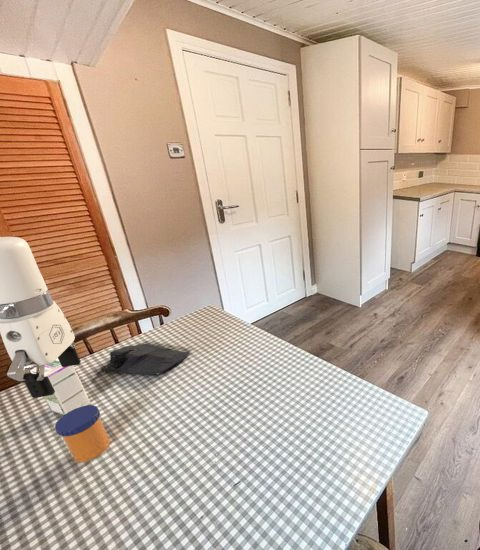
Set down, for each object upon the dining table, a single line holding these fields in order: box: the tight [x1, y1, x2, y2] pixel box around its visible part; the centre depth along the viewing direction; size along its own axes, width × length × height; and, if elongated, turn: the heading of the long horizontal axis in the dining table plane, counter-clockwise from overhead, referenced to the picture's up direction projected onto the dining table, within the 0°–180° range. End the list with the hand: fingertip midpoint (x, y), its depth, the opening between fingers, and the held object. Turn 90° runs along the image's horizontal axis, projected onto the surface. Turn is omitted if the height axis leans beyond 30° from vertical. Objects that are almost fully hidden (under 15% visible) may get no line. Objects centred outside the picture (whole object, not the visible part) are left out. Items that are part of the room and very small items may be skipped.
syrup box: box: [30, 358, 91, 416], centre depth 78 cm, size 6×6×14 cm
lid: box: [54, 404, 101, 437], centre depth 66 cm, size 7×7×2 cm
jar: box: [61, 416, 111, 463], centre depth 68 cm, size 6×6×9 cm
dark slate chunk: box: [101, 343, 190, 376], centre depth 98 cm, size 15×22×5 cm
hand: (59, 379), depth 62 cm, fingers open, 8 cm apart
